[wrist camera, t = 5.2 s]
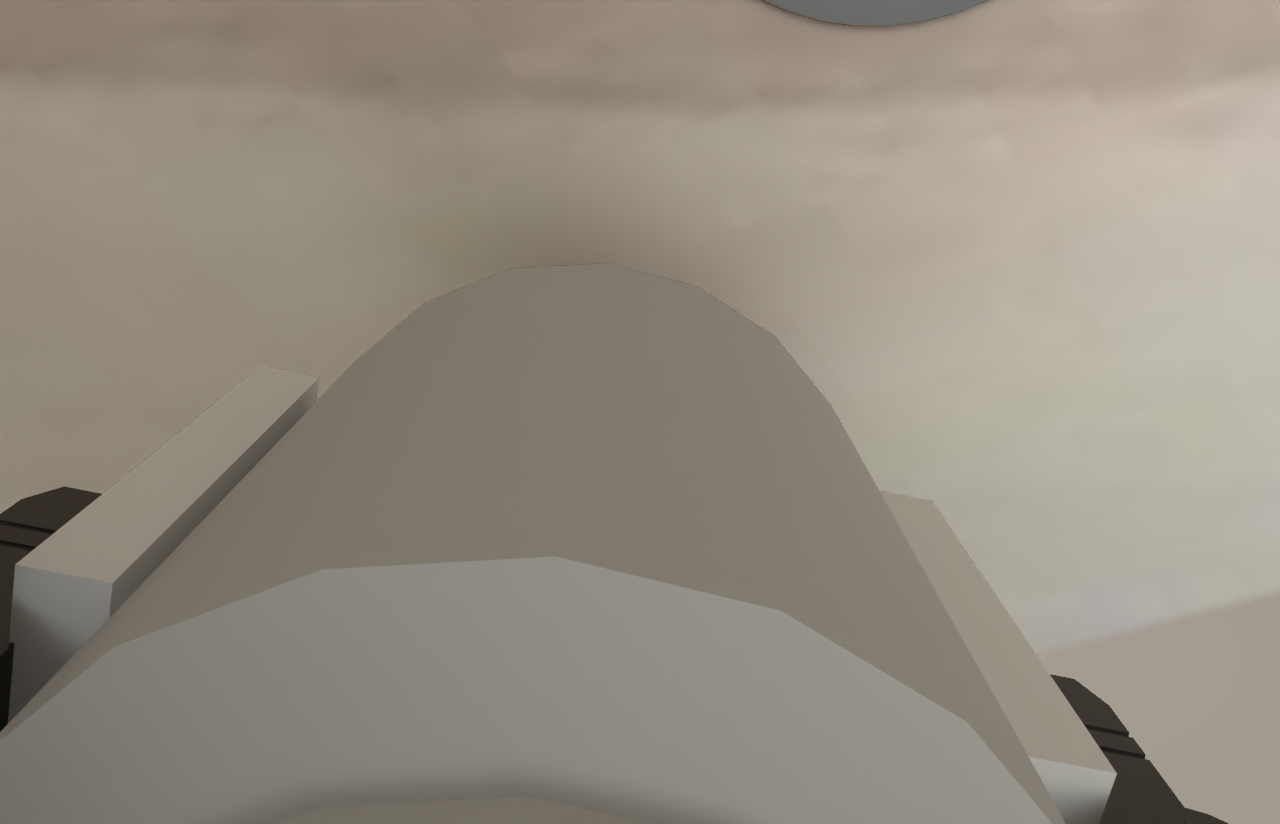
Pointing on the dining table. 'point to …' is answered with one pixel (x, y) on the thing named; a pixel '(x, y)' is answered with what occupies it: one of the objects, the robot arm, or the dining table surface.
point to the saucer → (874, 10)
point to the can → (537, 602)
